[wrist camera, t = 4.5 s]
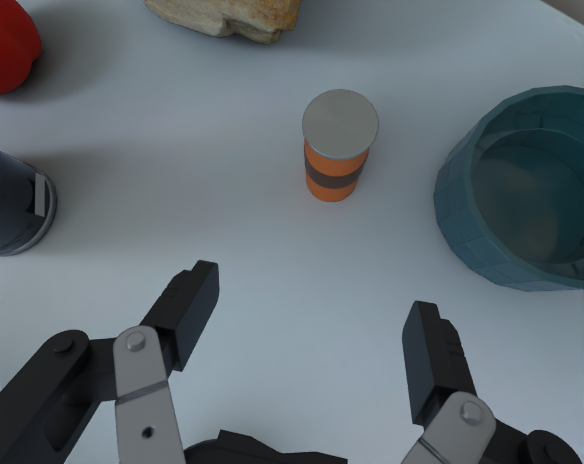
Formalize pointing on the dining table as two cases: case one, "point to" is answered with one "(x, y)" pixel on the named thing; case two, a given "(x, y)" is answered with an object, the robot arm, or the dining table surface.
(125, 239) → the dining table surface
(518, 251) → the bowl
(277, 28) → the rough brown rock
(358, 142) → the tube
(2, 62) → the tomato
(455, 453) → the robot arm
